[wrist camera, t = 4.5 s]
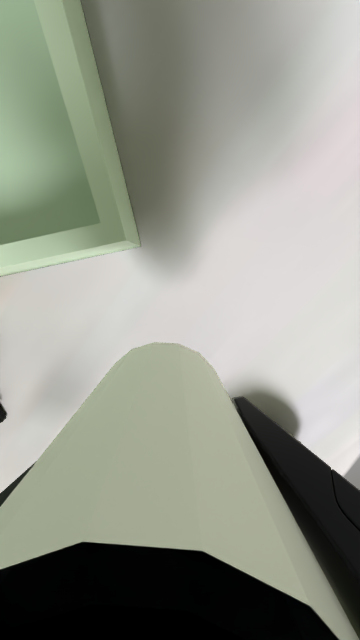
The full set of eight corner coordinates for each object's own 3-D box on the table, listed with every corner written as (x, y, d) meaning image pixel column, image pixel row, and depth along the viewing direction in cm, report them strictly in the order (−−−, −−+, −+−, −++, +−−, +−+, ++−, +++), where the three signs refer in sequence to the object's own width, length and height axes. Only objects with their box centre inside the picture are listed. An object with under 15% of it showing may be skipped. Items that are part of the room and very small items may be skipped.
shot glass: (206, 452, 10) (261, 786, 4) (86, 430, 10) (-107, 796, 3) (253, 349, 8) (539, 676, 2) (104, 312, 8) (-328, 628, 1)
